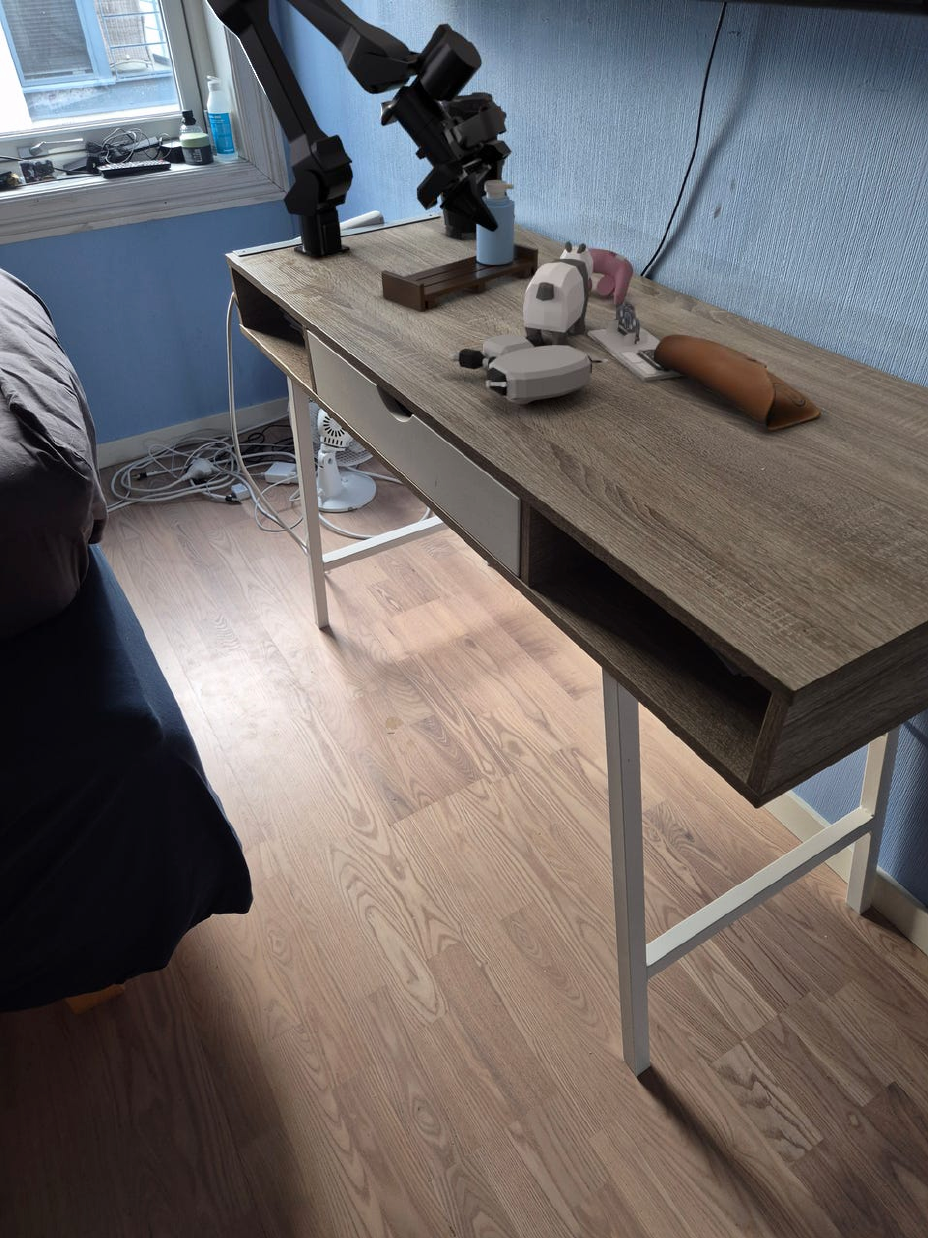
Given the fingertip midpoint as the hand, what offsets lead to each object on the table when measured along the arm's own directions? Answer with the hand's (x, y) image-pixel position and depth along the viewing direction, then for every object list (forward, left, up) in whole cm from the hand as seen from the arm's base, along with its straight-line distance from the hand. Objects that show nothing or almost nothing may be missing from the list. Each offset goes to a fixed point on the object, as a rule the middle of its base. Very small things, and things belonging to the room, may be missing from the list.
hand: (504, 224), depth 120 cm
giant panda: (+21, -11, -7) cm, 25 cm away
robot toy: (+29, -25, -7) cm, 39 cm away
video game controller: (+15, +2, -7) cm, 17 cm away
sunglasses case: (+45, -11, -7) cm, 47 cm away
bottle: (-1, 0, -5) cm, 5 cm away
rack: (-1, -7, -7) cm, 10 cm away
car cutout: (+32, -9, -7) cm, 34 cm away
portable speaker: (-20, +12, -7) cm, 25 cm away
